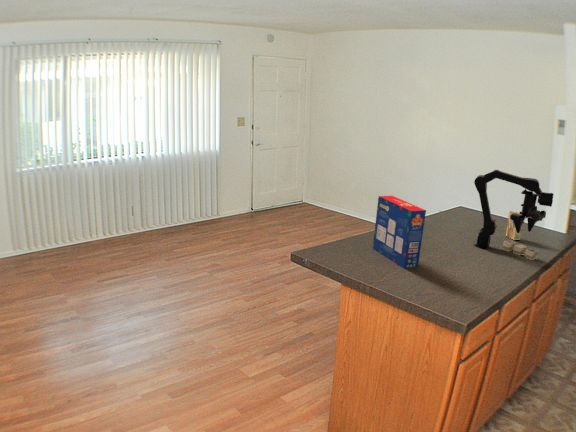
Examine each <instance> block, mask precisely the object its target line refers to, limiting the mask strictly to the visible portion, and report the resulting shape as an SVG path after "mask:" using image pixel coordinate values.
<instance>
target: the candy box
mask: <svg viewBox="0 0 576 432" xmlns="http://www.w3.org/2000/svg"><path fill="white" fill-rule="evenodd" d="M515 213H517V214H519V213H520V212H517V211H513V210H511V211H508V217H507V219H508V220H507V225H506V230H505V231H506V233H505V237H506V236H508V237H509V238H508V237H507V238H508V239H510V238H511V239H513V240H520V241H521V236H522V229H523V225H522V226H521V229H520V232H519V233H517V231H516V228H515V225H514V222H513V220H512V219H510V215H511V214H515ZM521 215H522V214H521ZM511 239H510V240H511ZM513 240H512V241H513Z"/></svg>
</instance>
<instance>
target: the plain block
mask: <svg viewBox="0 0 576 432" xmlns="http://www.w3.org/2000/svg"><path fill="white" fill-rule="evenodd" d="M526 249H528V247H527V246H526V245H522V244H516V245H514V250H513V251H512V253H513V252H514V253H517V254H520V255H521V254H525V250H526ZM514 253H513V254H514Z"/></svg>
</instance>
